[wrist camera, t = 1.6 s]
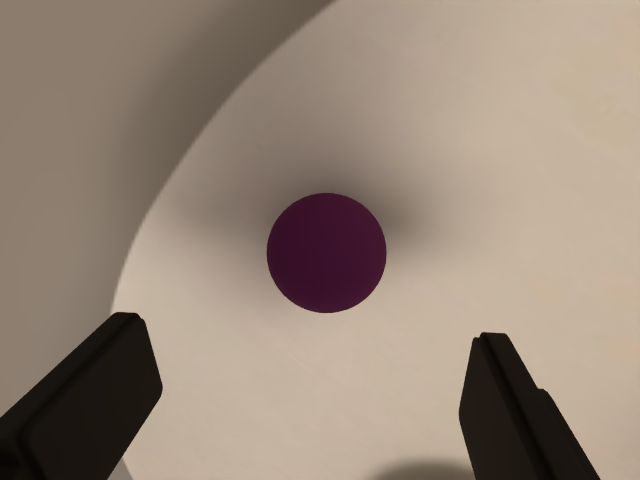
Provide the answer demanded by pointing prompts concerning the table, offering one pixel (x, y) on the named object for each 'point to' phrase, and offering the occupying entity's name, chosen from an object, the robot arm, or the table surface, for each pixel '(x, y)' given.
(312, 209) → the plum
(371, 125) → the table surface
